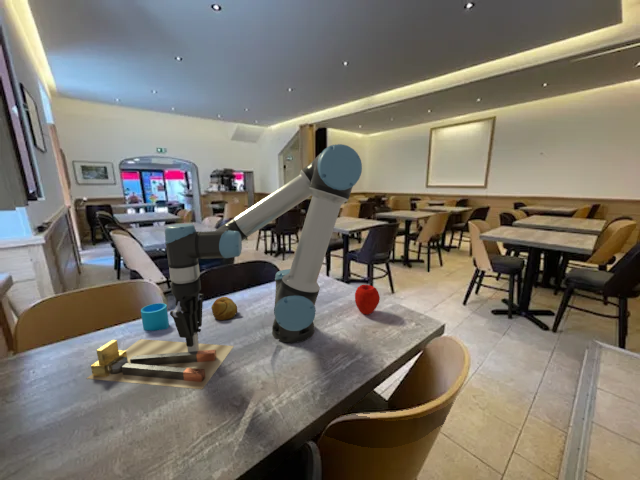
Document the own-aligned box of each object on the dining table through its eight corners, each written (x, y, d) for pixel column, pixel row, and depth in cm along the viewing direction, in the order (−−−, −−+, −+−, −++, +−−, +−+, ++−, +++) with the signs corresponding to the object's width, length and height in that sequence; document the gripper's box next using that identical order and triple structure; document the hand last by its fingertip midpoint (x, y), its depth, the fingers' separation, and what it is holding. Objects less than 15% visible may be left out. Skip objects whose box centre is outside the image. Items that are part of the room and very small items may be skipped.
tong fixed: (210, 371, 76) (209, 363, 76) (201, 382, 72) (200, 374, 71) (118, 363, 79) (117, 355, 79) (105, 373, 75) (103, 365, 75)
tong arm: (216, 356, 82) (215, 349, 82) (214, 360, 80) (214, 353, 80) (134, 363, 79) (133, 355, 79) (130, 367, 78) (129, 359, 77)
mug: (166, 331, 99) (164, 311, 98) (140, 335, 97) (137, 314, 95) (172, 316, 110) (170, 297, 109) (149, 320, 108) (146, 300, 106)
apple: (382, 311, 115) (383, 283, 113) (373, 320, 107) (374, 291, 104) (360, 305, 120) (361, 279, 118) (350, 314, 112) (351, 286, 110)
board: (234, 350, 88) (234, 345, 88) (202, 394, 70) (202, 389, 69) (140, 343, 92) (140, 339, 92) (87, 383, 74) (86, 378, 73)
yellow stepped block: (127, 360, 80) (124, 338, 79) (106, 377, 74) (101, 353, 72) (115, 359, 81) (111, 337, 80) (92, 375, 74) (88, 352, 73)
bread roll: (211, 310, 116) (210, 292, 114) (235, 306, 120) (234, 289, 118) (212, 324, 104) (210, 305, 103) (238, 319, 108) (237, 300, 106)
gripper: (187, 271, 84) (194, 340, 89) (157, 287, 71) (167, 366, 76) (209, 272, 83) (216, 342, 88) (183, 288, 70) (192, 368, 75)
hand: (193, 353), depth 82 cm, fingers closed
